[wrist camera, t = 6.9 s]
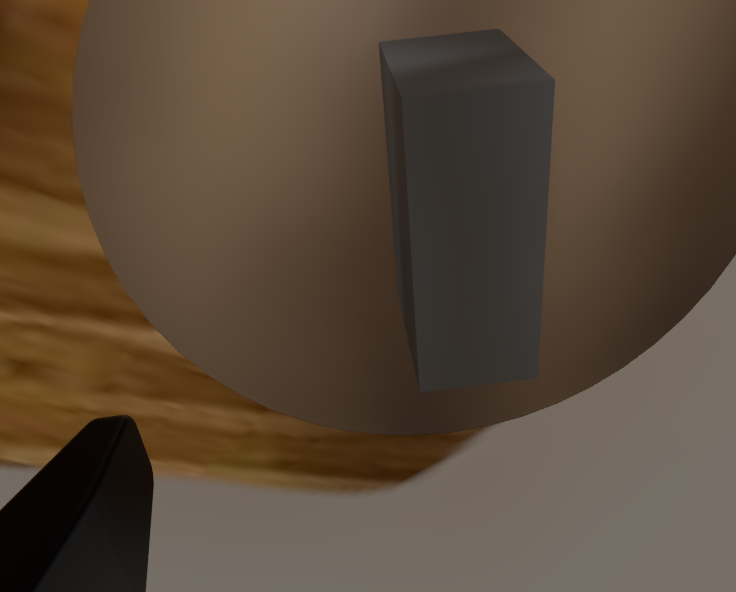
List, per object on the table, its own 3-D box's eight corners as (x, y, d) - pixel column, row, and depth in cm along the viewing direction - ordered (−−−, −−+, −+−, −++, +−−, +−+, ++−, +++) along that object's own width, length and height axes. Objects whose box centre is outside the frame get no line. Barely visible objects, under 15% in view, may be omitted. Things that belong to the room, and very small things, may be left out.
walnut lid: (854, -311, 10) (1122, -384, 7) (702, 371, 17) (798, 497, 14) (-32, -220, 10) (-197, -253, 7) (180, 436, 17) (152, 581, 14)
